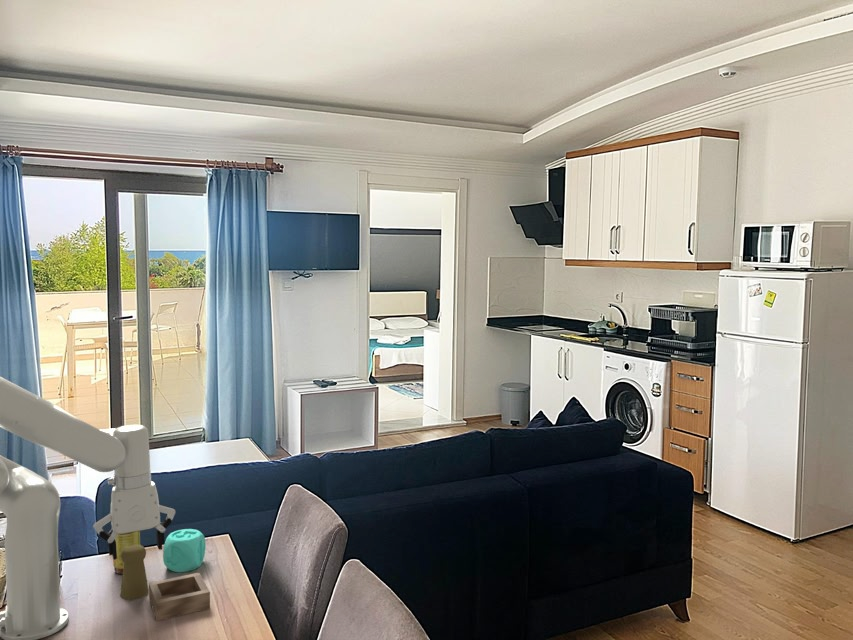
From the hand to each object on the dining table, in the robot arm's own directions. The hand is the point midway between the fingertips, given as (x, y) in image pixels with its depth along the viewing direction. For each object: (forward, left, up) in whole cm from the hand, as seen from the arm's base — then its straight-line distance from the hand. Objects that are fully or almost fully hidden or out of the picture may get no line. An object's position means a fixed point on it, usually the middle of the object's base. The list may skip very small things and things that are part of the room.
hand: (137, 552), depth 159 cm
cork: (-1, 0, -10) cm, 10 cm away
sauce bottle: (-1, +14, -10) cm, 17 cm away
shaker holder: (+7, -10, -9) cm, 16 cm away
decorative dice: (+12, +10, -10) cm, 18 cm away
